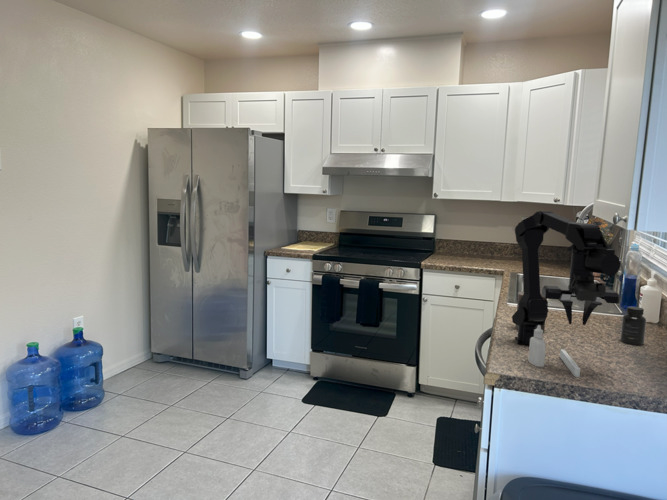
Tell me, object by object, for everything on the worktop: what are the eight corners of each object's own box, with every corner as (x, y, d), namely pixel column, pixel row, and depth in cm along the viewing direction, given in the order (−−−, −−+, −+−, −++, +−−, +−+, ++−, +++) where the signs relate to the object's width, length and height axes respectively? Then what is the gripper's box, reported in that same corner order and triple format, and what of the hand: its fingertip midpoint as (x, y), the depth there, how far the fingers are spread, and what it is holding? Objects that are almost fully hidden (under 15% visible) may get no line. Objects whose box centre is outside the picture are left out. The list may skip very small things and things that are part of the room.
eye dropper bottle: (544, 364, 143) (547, 324, 141) (543, 370, 138) (547, 329, 136) (528, 361, 144) (531, 322, 143) (527, 367, 139) (530, 326, 138)
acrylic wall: (559, 359, 147) (560, 349, 147) (563, 359, 147) (564, 349, 147) (574, 379, 132) (575, 368, 131) (579, 379, 131) (580, 368, 131)
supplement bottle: (622, 338, 171) (625, 304, 169) (645, 342, 166) (649, 307, 165) (618, 342, 165) (622, 307, 164) (642, 347, 161) (646, 311, 159)
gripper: (551, 272, 130) (547, 329, 131) (629, 276, 125) (623, 335, 127) (543, 265, 140) (539, 318, 142) (615, 269, 136) (609, 324, 138)
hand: (576, 324), depth 137 cm, fingers open, 3 cm apart
